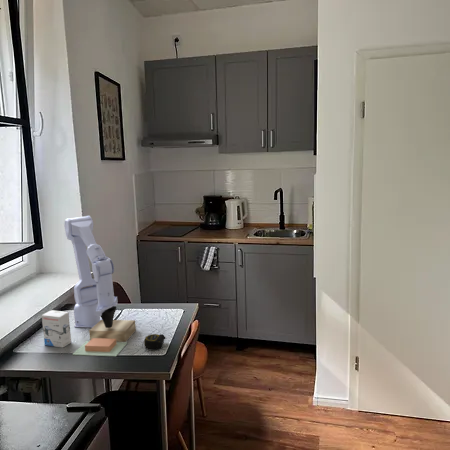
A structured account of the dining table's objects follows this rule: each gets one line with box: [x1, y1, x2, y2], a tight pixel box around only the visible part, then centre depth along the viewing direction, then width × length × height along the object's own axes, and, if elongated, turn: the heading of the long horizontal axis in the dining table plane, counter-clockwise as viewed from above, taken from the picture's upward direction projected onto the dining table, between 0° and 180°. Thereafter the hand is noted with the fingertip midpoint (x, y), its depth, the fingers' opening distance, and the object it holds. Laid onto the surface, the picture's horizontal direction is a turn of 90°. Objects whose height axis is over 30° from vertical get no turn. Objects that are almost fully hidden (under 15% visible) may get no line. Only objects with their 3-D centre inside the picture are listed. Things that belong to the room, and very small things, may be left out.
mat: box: [72, 340, 128, 357], centre depth 147 cm, size 16×10×1 cm, turn 81°
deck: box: [88, 319, 137, 342], centre depth 158 cm, size 14×10×4 cm
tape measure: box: [143, 333, 166, 351], centre depth 147 cm, size 7×7×4 cm
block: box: [85, 338, 117, 352], centre depth 147 cm, size 9×6×2 cm, turn 81°
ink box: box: [41, 309, 72, 348], centre depth 152 cm, size 9×5×12 cm, turn 71°
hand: (108, 327), depth 154 cm, fingers closed
